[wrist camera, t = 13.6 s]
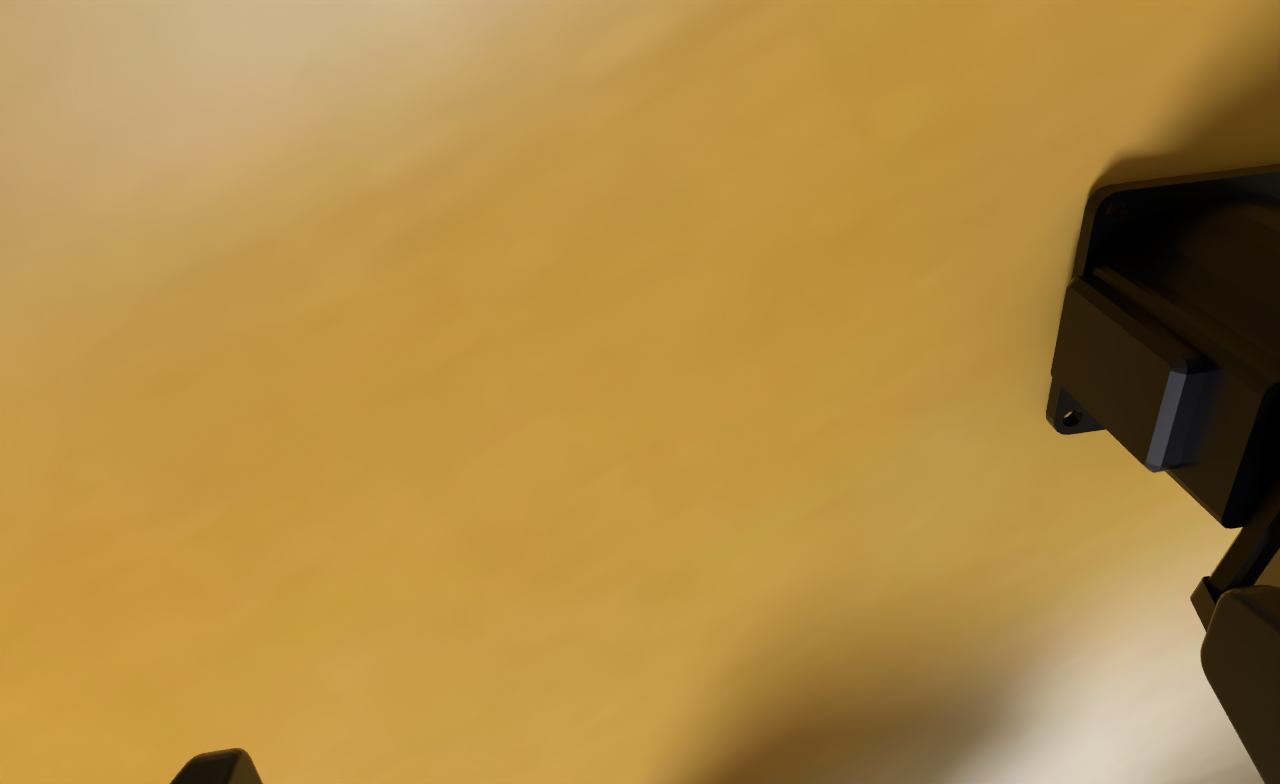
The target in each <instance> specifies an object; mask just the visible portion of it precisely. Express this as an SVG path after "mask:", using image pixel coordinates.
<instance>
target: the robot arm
mask: <svg viewBox="0 0 1280 784" xmlns="http://www.w3.org/2000/svg"><path fill="white" fill-rule="evenodd" d="M1115 202H1117V206H1116V208H1115V210H1114V211H1113V212H1112V213H1111V214H1110V215H1108V216H1105V213H1106V211H1107V208H1108V207H1109V206H1110V205H1111V204H1112V203H1115ZM1051 376H1052V377H1053V378H1052V384H1051V389H1050V394H1049V399H1048V404H1047V410H1046V419H1047V421H1048V422H1049V424H1050V425H1051V426H1052V427H1053V428H1054V429H1055V430H1056V431H1057V432H1059V433H1061V434H1066V435H1070V434H1077V433H1084V432H1091V431H1098V430H1105V429H1106V430H1107V431H1109V432H1110V433H1111V434H1112V435H1113V436H1114V437H1115V438H1116V439H1117V440H1118V441H1119V442H1120V443H1121V444H1122V445H1123V446H1124V447H1125V448H1126V449H1127V450H1128V451H1129V452H1130V453H1131V454H1132V455H1133V456H1134V457H1135V458H1136V459H1137V460H1138V461H1139V462H1140V463H1141V464H1143V465H1144V466H1145V467H1146V468H1147V469H1148V470H1149V471H1151V472H1153V473H1155V472H1162V471H1165V472H1166V473H1167V474H1169V475H1170V476H1171V477H1172V478H1173V479H1174V480H1175V481H1176V482H1177V483H1178V484H1179V485H1180V486H1181V487H1182V488H1183V489H1184V490H1185V491H1186V492H1188V493H1189V494H1190V495H1191V496H1192V497H1193V498H1194V499H1195V500H1196V501H1197V502H1198V503H1199V504H1200V505H1201V506H1202V507H1203V508H1204V509H1205V510H1207V511H1208V512H1209V513H1210V514H1211V515H1212V516H1213V517H1214V518H1215V519H1216V520H1217V521H1218V522H1219V523H1220V524H1221V525H1222V526H1223V527H1225V528H1230V529H1233V528H1239V527H1243V528H1242V529H1241V531H1240V532H1239V534H1238V535H1237V537H1236V538H1235V540H1234V541H1233V543H1232V544H1231V546H1230V547H1229V549H1228V550H1227V552H1226V553H1225V555H1224V556H1223V558H1222V559H1221V561H1220V562H1219V564H1218V565H1217V567H1216V568H1215V570H1214V571H1213V573H1212V574H1211V576H1206V577H1203V579H1202V580H1201V581H1200V583H1199V585H1198V586H1197V588H1196V589H1195V591H1194V592H1193V594H1192V595H1191V597H1190V599H1191V602H1192V604H1193V606H1194V608H1195V610H1196V612H1197V614H1198V616H1199V618H1200V620H1201V622H1202V624H1203V626H1204V628H1205V630H1206V635H1205V638H1204V641H1203V644H1202V647H1201V663H1202V667H1203V670H1204V673H1205V676H1206V678H1207V680H1208V682H1209V683H1210V685H1211V687H1212V689H1213V691H1214V692H1215V694H1216V696H1217V698H1218V700H1219V701H1220V703H1221V705H1222V707H1223V709H1224V711H1225V712H1226V714H1227V716H1228V718H1229V720H1230V721H1231V723H1232V725H1233V727H1234V729H1235V730H1236V732H1237V734H1238V736H1239V738H1240V740H1241V741H1242V743H1243V745H1244V747H1245V749H1246V750H1247V752H1248V754H1249V756H1250V758H1251V759H1252V761H1253V763H1254V765H1255V767H1256V769H1257V770H1258V772H1259V774H1260V776H1261V778H1262V779H1263V781H1264V783H1265V784H1280V165H1271V166H1263V167H1255V168H1246V169H1238V170H1230V171H1221V172H1213V173H1205V174H1197V175H1188V176H1180V177H1172V178H1163V179H1155V180H1147V181H1138V182H1130V183H1122V184H1113V185H1108V186H1105V187H1102V188H1100V189H1099V190H1098V191H1096V192H1095V193H1094V194H1093V195H1092V196H1091V198H1090V199H1089V200H1088V202H1087V205H1086V207H1085V211H1084V216H1083V222H1082V227H1081V232H1080V237H1079V243H1078V248H1077V253H1076V258H1075V263H1074V269H1073V274H1072V279H1071V282H1070V283H1069V285H1068V287H1067V289H1066V294H1065V299H1064V305H1063V310H1062V315H1061V321H1060V326H1059V331H1058V336H1057V342H1056V347H1055V352H1054V357H1053V363H1052V368H1051ZM1070 411H1073V412H1072V413H1071V414H1070V415H1069V416H1068V417H1065V415H1066V414H1067V413H1068V412H1070ZM1064 417H1065V418H1064ZM170 784H263V783H262V781H261V779H260V777H259V774H258V772H257V770H256V768H255V766H254V764H253V761H252V759H251V757H250V756H249V754H248V753H247V752H246V751H245V750H243V749H241V748H233V749H226V750H220V751H214V752H208V753H203V754H199V755H197V756H195V757H193V758H192V759H191V760H190V761H188V762H187V763H186V765H185V766H184V767H183V768H182V769H181V770H180V772H179V773H178V774H177V775H176V777H175V778H174V779H173V780H172V781H171V783H170Z"/></svg>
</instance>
